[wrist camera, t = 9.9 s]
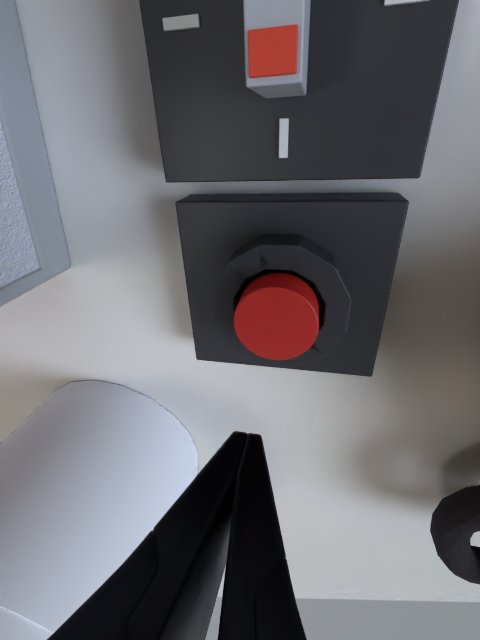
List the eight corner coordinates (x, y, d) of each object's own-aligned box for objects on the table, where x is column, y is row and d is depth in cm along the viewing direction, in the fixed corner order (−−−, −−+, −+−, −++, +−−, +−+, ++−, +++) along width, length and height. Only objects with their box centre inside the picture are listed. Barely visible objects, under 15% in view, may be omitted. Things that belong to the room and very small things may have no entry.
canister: (14, 396, 31) (-339, 705, 15) (143, 363, 26) (-197, 817, 9) (105, 497, 38) (-67, 794, 21) (225, 489, 32) (122, 892, 15)
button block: (189, 194, 18) (159, 209, 15) (399, 192, 16) (420, 209, 13) (205, 341, 23) (186, 377, 20) (367, 355, 21) (376, 398, 18)
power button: (238, 270, 16) (230, 284, 14) (322, 273, 15) (322, 289, 14) (242, 338, 18) (235, 356, 16) (315, 344, 17) (315, 364, 16)
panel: (151, -143, 12) (104, -220, 9) (479, -220, 10) (538, -347, 7) (187, 175, 18) (163, 183, 15) (403, 170, 15) (421, 178, 13)
